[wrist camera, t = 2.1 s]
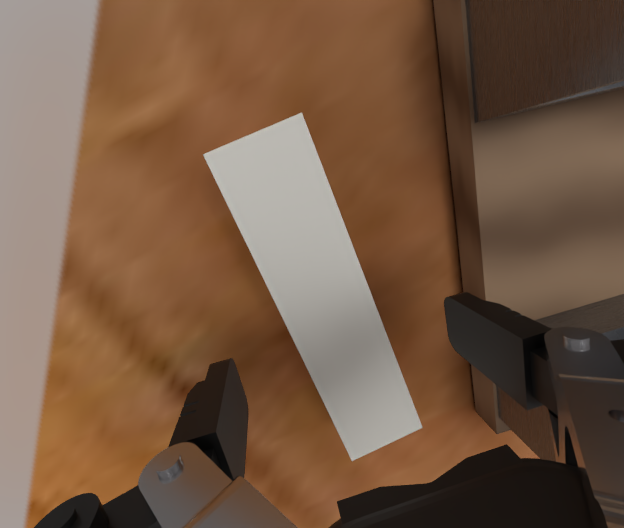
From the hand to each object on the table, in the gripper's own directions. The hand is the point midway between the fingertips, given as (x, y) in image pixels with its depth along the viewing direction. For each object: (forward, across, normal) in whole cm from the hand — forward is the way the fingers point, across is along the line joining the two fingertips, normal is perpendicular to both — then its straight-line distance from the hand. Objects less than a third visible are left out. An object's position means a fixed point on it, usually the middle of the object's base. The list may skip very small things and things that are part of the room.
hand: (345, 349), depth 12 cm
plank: (+6, -14, -1) cm, 15 cm away
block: (+7, 0, 0) cm, 7 cm away
